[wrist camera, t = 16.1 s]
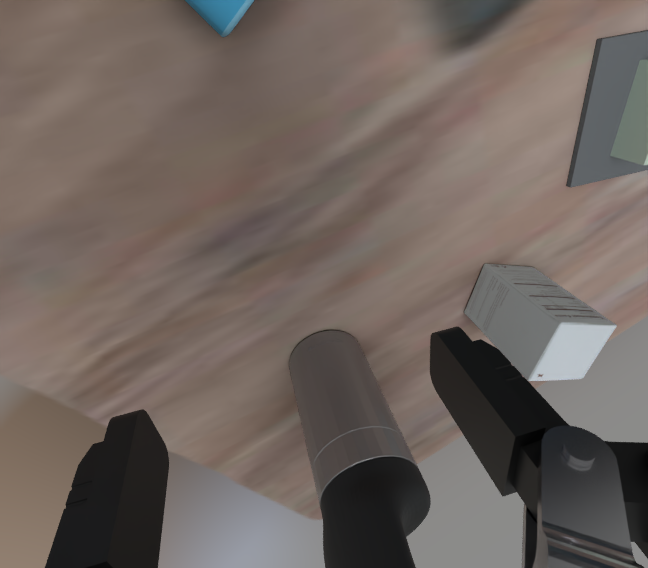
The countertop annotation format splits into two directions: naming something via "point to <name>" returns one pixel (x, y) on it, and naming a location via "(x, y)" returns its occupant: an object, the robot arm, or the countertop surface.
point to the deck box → (634, 121)
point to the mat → (606, 109)
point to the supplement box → (537, 322)
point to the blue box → (221, 13)
